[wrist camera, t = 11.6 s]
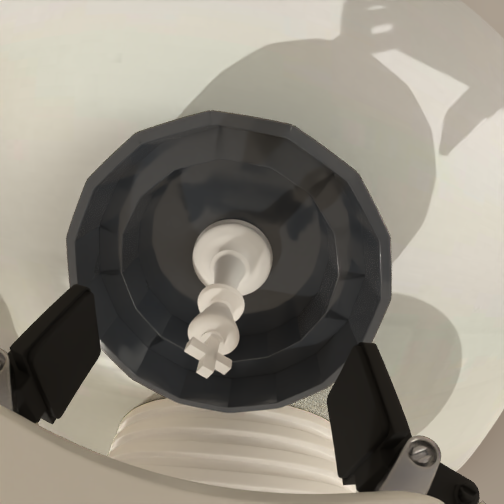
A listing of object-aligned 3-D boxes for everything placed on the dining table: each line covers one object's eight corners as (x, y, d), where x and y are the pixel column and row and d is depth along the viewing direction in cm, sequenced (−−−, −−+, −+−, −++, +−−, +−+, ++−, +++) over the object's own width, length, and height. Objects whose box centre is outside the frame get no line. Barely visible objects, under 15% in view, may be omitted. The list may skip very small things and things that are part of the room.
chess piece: (240, 305, 20) (225, 430, 10) (179, 263, 19) (115, 370, 10) (289, 251, 18) (311, 364, 9) (223, 202, 17) (177, 278, 8)
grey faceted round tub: (127, 110, 16) (73, 102, 10) (384, 157, 16) (434, 167, 11) (117, 326, 22) (85, 375, 16) (316, 365, 22) (327, 423, 17)
